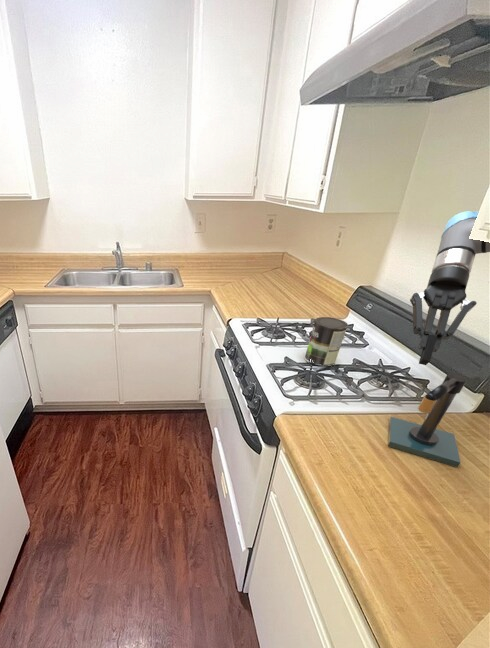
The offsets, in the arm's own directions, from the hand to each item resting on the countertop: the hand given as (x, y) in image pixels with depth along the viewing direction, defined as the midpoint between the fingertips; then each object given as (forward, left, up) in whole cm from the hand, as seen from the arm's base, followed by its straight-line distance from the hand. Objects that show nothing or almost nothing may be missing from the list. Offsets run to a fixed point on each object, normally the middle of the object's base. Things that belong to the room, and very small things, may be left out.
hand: (424, 362), depth 81 cm
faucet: (-6, +5, -18) cm, 20 cm away
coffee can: (+23, -29, -19) cm, 42 cm away
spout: (-3, +10, -4) cm, 11 cm away
